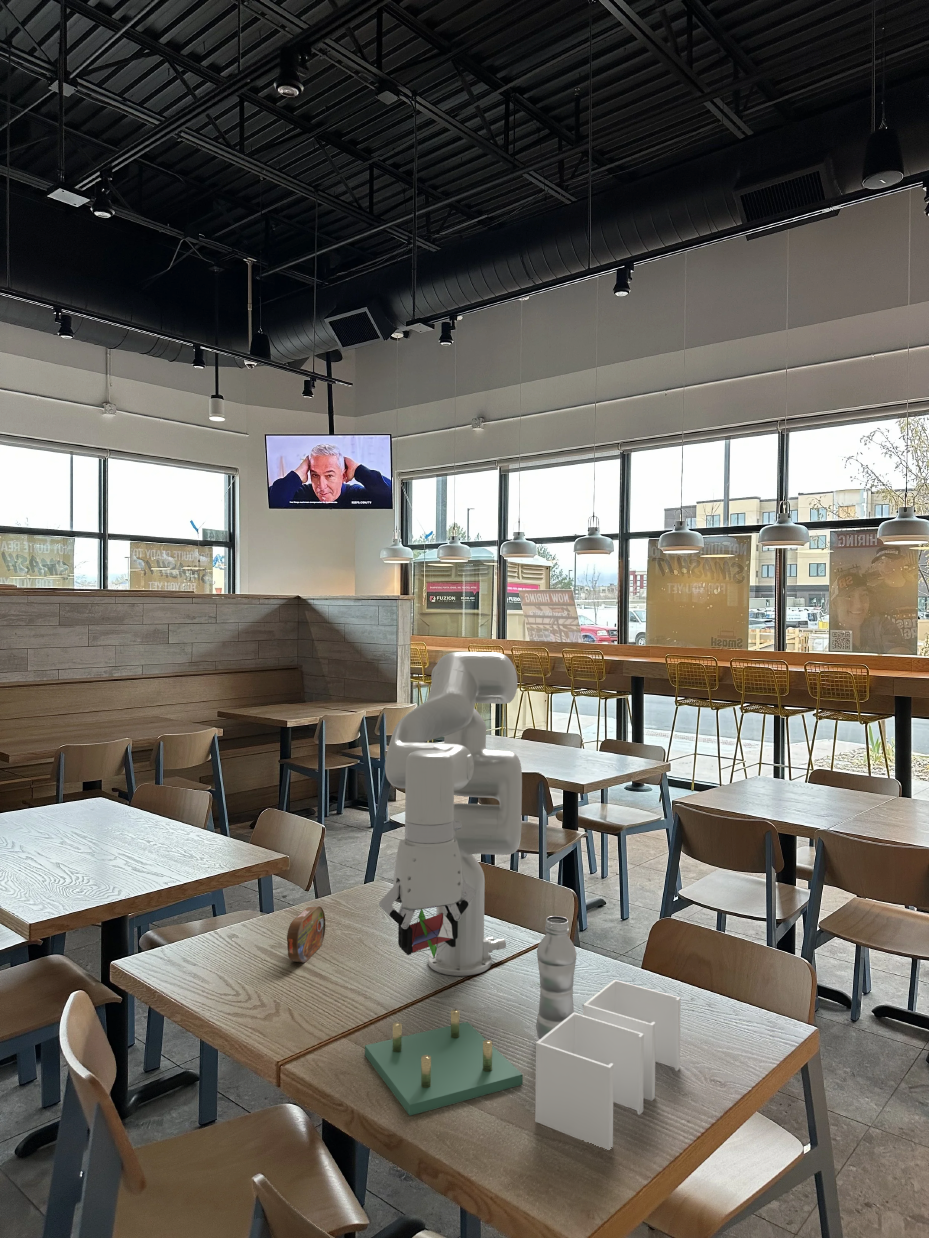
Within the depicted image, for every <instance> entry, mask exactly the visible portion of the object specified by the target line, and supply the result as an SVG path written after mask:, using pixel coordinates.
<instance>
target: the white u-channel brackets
mask: <svg viewBox="0 0 929 1238" xmlns="http://www.w3.org/2000/svg"><path fill="white" fill-rule="evenodd" d="M681 1000H682V999H681V997H679V996H676V995H672V994H670V993H666V992H662V991H658V990H655V989H650V988H647V987H644V986H640V985H635V984H632V983H628V982H625V981H621V980H618V979H613V980H612V981H610V983H608V984H607V985H605V987H603V988H602V989H601V990H600V991H598V992H597V993H596V994H595V995H593V996H592V997H591V998H590V999H588V1000H587V1001H586V1002H585V1003H584V1004H583V1005H582V1008H583V1009H582V1014H580V1013H577V1012H574V1013H572V1014H571V1015H570V1016H569V1017H567V1018H566V1019H565V1020H564V1021H562V1022H561V1023H560V1024H559V1025H557V1026H556V1027H555V1028H554V1029H552V1030H551V1031H550V1032H549V1033H547V1034H546V1035H545V1036H544V1037H542V1038H541V1039H540V1040H539V1039H538V1040H537V1041H536V1042H535V1111H534V1112H535V1113H534V1114H535V1116H534V1117H535V1118H534V1119H535V1123H539V1124H541V1125H543V1126H546V1127H548V1128H551V1129H553V1130H555V1131H556V1132H560V1133H563V1134H565V1135H568V1136H571V1137H573V1138H575V1139H577V1140H581V1141H582V1140H584V1141H583V1142H585V1143H587V1142H589V1143H588V1144H590V1143H592V1144H594V1145H593V1146H595V1145H596V1147H597V1146H599V1147H598V1148H600V1147H603V1148H605V1149H607V1150H610V1149H612V1148H614V1103H616V1104H618V1105H620V1106H623V1107H626V1108H629V1109H632V1110H634V1111H636V1112H637V1115H639V1116H640V1115H642V1113H643V1112H644V1099H645V1100H648V1101H651V1102H653V1100H654V1099H655V1098H656V1063H659V1064H662V1065H666V1066H668V1067H672V1068H674V1071H676V1072H678V1071H679V1070H680V1069H681ZM592 1144H591V1145H592ZM611 1147H612V1148H611ZM605 1149H604V1150H605ZM607 1150H606V1151H607ZM610 1151H611V1150H610Z"/></svg>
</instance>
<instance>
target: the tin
mask: <svg viewBox="0 0 929 1238" xmlns="http://www.w3.org/2000/svg"><path fill="white" fill-rule="evenodd" d="M325 932H326V915H325V911H324V908H323V907H322V906H320V905H318V906H308V907H306V908H305V909H304V910H303V911H302V912H300V914H298V915H297V916H296V917H295V918H294V919H293V920H291V922H290V925H289V926H288V928H287V933H286V941H287V942H286V943H287V946H286V947H287V956H288V958H289V960H290V961H291V962H295V963H306V962H308V961H309V960H310V958H311V957H312V956H313V955H314V954H315V953H316V952H317V951H318V950H319V949H320V947H322V945H323V942H324V939H325Z"/></svg>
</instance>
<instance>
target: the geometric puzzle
mask: <svg viewBox="0 0 929 1238" xmlns="http://www.w3.org/2000/svg"><path fill="white" fill-rule="evenodd" d="M429 910H430V908H427V909H420V910H417V912H415V913H414V915H413V917H415V916H416V915H417V914H418V913H419V914H418V916H417V917H416V918H415V919H413V917H412V920H411V922H410V927H411V928H412V931H413V932H412V953H411V954H416V953H418V954H417V955H420V954H419V953H420V952H422V953H423V954H425V952H426V951H430V952H431V953H432V955H433V959H434V958H435V954H436V951H437V947H438V944H439V943H441V942H444V941H447V940H449V941H450V939H453V935H452V924H451V923H450V922H449V920H448V919H447V917H446V916H445V915H444V913H440V914H439V915H436V913H434V914H433V913H431V912H429ZM424 911H426V912H427V913H429V914H430V915H431V916H430V915H429V914H428V915H425V913H424ZM431 911H433V912H434V910H431ZM428 916H430V917H428ZM427 917H428V918H427ZM415 920H417V921H416V922H415V923H412V922H413V921H415ZM447 942H448V941H447ZM447 942H446V943H447ZM444 944H445V943H444ZM436 946H437V947H436ZM441 946H442V945H441ZM439 947H440V946H439ZM439 947H438V948H439ZM427 948H429V949H427ZM424 949H425V950H424ZM443 949H444V948H443ZM443 949H442V950H443ZM442 950H441V951H442ZM429 955H430V954H429ZM429 955H428V954H427V956H424V955H422V954H421V957H426V958H427V957H429ZM429 958H430V957H429ZM431 958H432V957H431Z"/></svg>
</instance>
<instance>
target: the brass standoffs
mask: <svg viewBox="0 0 929 1238" xmlns="http://www.w3.org/2000/svg"><path fill="white" fill-rule="evenodd" d="M460 1012H461V1011H460V1010H459V1009H451V1010H450V1026H451V1038H459V1024H460V1021H461V1020H460V1014H461V1013H460ZM402 1028H403V1023H402V1022H400V1021H396V1022H393V1023H392V1039H393V1052H400V1051H401V1050H402V1037H403V1029H402ZM492 1046H493V1041H492V1040H490V1039H486V1040H485V1041H483V1070H484V1071H486V1072H490V1071H492ZM421 1086H422V1087H423V1088H429V1087H430V1086H431V1056H429V1055H423V1056H422V1057H421Z"/></svg>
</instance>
